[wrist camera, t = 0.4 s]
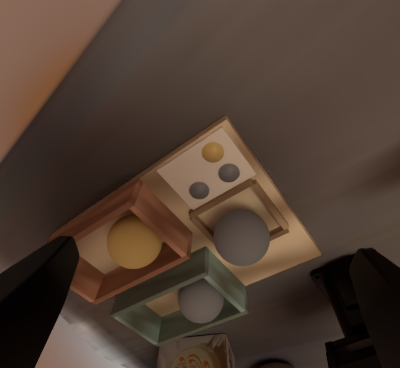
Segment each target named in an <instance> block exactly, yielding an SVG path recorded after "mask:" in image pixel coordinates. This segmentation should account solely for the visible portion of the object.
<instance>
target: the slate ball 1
mask: <svg viewBox="0 0 400 368" xmlns="http://www.w3.org/2000/svg"><path fill="white" fill-rule="evenodd" d="M223 303H224V296H223V295H222V294H221V293H220V292H219V291H217V290H216V289H215V288H214V287H213V286H212V285H211V284H210V283H209V282H208V281H207V280H206V279H205V278H202V279H200V280H197V281H195V282H193V283H191V284H188V285H186V286H184V287H182V288H179V292H178V305H179V308H180V311H181V312H182V314H183V315H184V316H185V317H186V318H187V319H188V320H190V321H192V322H194V323H207V322H210V321H212V320H213V319H215V318H216V317H217V316H218V315H219V313H220V312H221V310H222V307H223Z"/></svg>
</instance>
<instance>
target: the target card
mask: <svg viewBox="0 0 400 368" xmlns="http://www.w3.org/2000/svg"><path fill="white" fill-rule="evenodd" d="M157 172H158V173H159V174H160V175H161V176H162V177H163V178H164V180H165V181H166V182H167V183H168V184H169V185H170V186H171V187H172V188H173V189H174V190H175V191H176V192H177V193H178V194H179V196H180V197H181V198H182V199H183V200H184V201H185V202H186V203H187V204H188V205H189V206H190V207H191V208H192V209H193V210H194V209H196V208H198V207H200V206H201V205H203V204H205V203H207V202H208V201H210V200H212V199H214V198H215V197H217V196H219V195H221V194H223V193H224V192H226V191H228V190H230V189H231V188H233V187H235V186H237V185H238V184H240V183H242V182H244V181H246V180H247V179H249V178H251V177H253V176H254V175H256V172H255V171H254V169H253V168H252V167H251V165H250V164H249V162H248V161H247V160H246V158H245V157H244V155H243V154H242V153H241V151H240V150H239V149H238V147H237V146H236V144H235V143H234V142H233V140H232V139H231V138H230V136H229V135H228V133H227V132H226V131H225V129H224V128H223V126H221V127H219V128H218V129H216V130H215V131H213V132H212V133H210V134H209V135H207V136H206V137H204V138H203V139H201V140H200V141H198V142H197V143H195V144H194V145H192V146H191V147H189V148H188V149H186V150H185V151H183V152H182V153H180V154H179V155H177V156H176V157H174V158H173V159H171V160H170V161H168V162H167V163H165V164H164V165H162V166H161V167H159V168H158V169H157Z"/></svg>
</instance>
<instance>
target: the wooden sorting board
mask: <svg viewBox="0 0 400 368" xmlns="http://www.w3.org/2000/svg"><path fill="white" fill-rule="evenodd" d="M221 126H223V128H224V129H225V131H226V132H227V133H228V135H229V136H230V138H231V139H232V140H233V142H234V143H235V144H236V146H237V147H238V149H239V150H240V151H241V153H242V154H243V155H244V157H245V158H246V160H247V161H248V162H249V164H250V165H251V167H252V168H253V169H254V171H255V172H256V175H254V176H253V177H251V178H249V179H247V180H246V181H244V182H242V183H240V184H238V185H237V186H235V187H233V188H231V189H230V190H228V191H226V192H224V193H223V194H221V195H219V196H217V197H215V198H214V199H212V200H210V201H208V202H207V203H205V204H203V205H201V206H200V207H198V208H196V209H194V210H193V209H192V208H191V207H190V206H189V205H188V204H187V203H186V202H185V201H184V200H183V199H182V198H181V197H180V196H179V194H178V193H177V192H176V191H175V190H174V189H173V188H172V187H171V186H170V185H169V184H168V183H167V182H166V181H165V180H164V178H163V177H162V176H161V175H160V174H159V173H158V172H157V169H158V168H159V167H161V166H162V165H164V164H165V163H167V162H168V161H170V160H171V159H173V158H174V157H176V156H177V155H179V154H180V153H182V152H183V151H185V150H186V149H188V148H189V147H191V146H192V145H194V144H195V143H197V142H198V141H200V140H201V139H203V138H204V137H206V136H207V135H209V134H210V133H212V132H213V131H215V130H216V129H218V128H219V127H221ZM237 209H245V210H249V211H252V212H254V213H256V214H257V215H259V216H260V217H261V218H262V219H263V220H264V222H265V223H266V225H267V227H268V229H269V233H270V244H269V248H268V250H267V252H266V254H265V255H264V256H263V258H262V259H260V260H259V261H258V262H256V263H254V264H252V265H249V266H236V265H233V264H231V263H229V262H227V261H225V260H224V259H223V258H222V257H221V256H220V255H219V253H218V252H217V250H216V248H215V245H214V238H213V235H214V229H215V226H216V224H217V222H218V221H219V219H220V218H221V217H222V216H223V215H225V214H226V213H228V212H230V211H233V210H237ZM129 214H135V215H136V216H137V217H139V218H140V219H141V220H142V221H143V222H144V223H145V224H146V225H147V226H148V227H149V228H150V229H151V230H153V231H154V232H155V233H156V234H157V235H158V236H159V237H160V238H161V239H162V247H161V250H160V252H159V254H158V256H157V257H156V259H155V260H154V261H153V262H151V263H150V264H149V265H147V266H145V267H142V268H139V269H128V268H124V267H122V266H120V265H118V264H117V263H116V262H115V261H114V260H113V259H112V258H111V256H110V254H109V252H108V249H107V236H108V233H109V231H110V229H111V227H112V226H113V224H114V223H115V222H116V221H117V220H119V219H120V218H122V217H124V216H126V215H129ZM62 235H63V236H73V237H74V239H75V242H76V245H77V248H78V251H79V256H80V257H79V262H78V265H77V268H76V271H75V274H74V277H73V280H72V283H71V286H70V289H71V290H73V291H74V292H76V293H77V294H79V295H80V296H82V297H83V298H85V299H86V300H88V301H89V302H91V303H92V304H94V305H96V304H98V303H100V302H102V301H104V300H106V299H109V298H111V297H113V296H115V295H117V296H116V299H115V302H114V305H113V308H112V311H111V314H110V316H112V317H113V318H115V319H116V320H118V321H119V322H121V323H122V324H124V325H125V326H127V327H128V328H130V329H131V330H133V331H134V332H136V333H137V334H139V335H140V336H142V337H143V338H145V339H146V340H148V341H149V342H151V343H152V344H154V345H155V346H157V347H158V346H161V345H163V344H166V343H169V342H172V341H174V340H177V339H180V338H183V337H185V336H188V335H191V334H193V333H196V332H199V331H202V330H204V329H207V328H210V327H213V326H215V325H218V324H221V323H224V322H226V321H229V320H232V319H234V318H237V317H240V316H243V315H245V314H248V304H247V296H246V287H245V286H247V285H249V284H252V283H254V282H257V281H259V280H262V279H264V278H266V277H269V276H271V275H274V274H276V273H279V272H281V271H284V270H286V269H288V268H291V267H293V266H296V265H298V264H301V263H303V262H306V261H308V260H311V259H313V258H315V257H318V256H320V255H322V254H321V251H320V249H319V247H318V245H317V244H316V243H315V241H314V240H313V238H312V237H311V235H310V234H309V233H308V231H307V230H306V228H305V227H304V225H303V224H302V223H301V221H300V220H299V218H298V217H297V215H296V214H295V213H294V211H293V210H292V208H291V207H290V205H289V204H288V203H287V201H286V200H285V198H284V197H283V195H282V194H281V193H280V191H279V190H278V188H277V187H276V185H275V184H274V183H273V181H272V180H271V178H270V177H269V175H268V174H267V173H266V171H265V170H264V168H263V167H262V165H261V164H260V163H259V161H258V160H257V158H256V157H255V155H254V154H253V153H252V151H251V150H250V148H249V147H248V145H247V144H246V143H245V141H244V140H243V138H242V137H241V135H240V134H239V133H238V131H237V130H236V128H235V127H234V125H233V124H232V123H231V121H230V120H229V118H228V117H227V115H224V116H223V117H221V118H220V119H219V120H217V121H216V122H214V123H213V124H211V125H210V126H208V127H207V128H205V129H204V130H202V131H201V132H199V133H198V134H197V135H195V136H194V137H192V138H191V139H189V140H188V141H186V142H185V143H183V144H182V145H180V146H179V147H177V148H176V149H175V150H173V151H172V152H170V153H169V154H167V155H166V156H164V157H163V158H161V159H160V160H158V161H157V162H155V163H154V164H153V165H151V166H150V167H148V168H147V169H145V170H144V171H142V172H141V173H139V174H138V175H136V176H135V177H134V178H132V179H131V180H129V181H128V182H126V183H125V184H123V185H122V186H120V187H119V188H117V189H116V190H114V191H113V192H112V193H110V194H109V195H107V196H106V197H104V198H103V199H101V200H100V201H98V202H97V203H95V204H94V205H92V206H91V207H90V208H88V209H87V210H85V211H84V212H82V213H81V214H79V215H78V216H76V217H75V218H73V219H72V220H71V221H69V222H68V223H66V224H65V225H63V226H62V227H60V228H59V229H57V230H56V231H54V232H53V234H52V235H51V236H50V238H49V239H48V242H47V243H49V242H50V241H52V240H53V239H55V238H56V237H58V236H62ZM47 243H46V244H47ZM202 278H205V279H206V280H207V281H208V282H209V283H210V284H211V285H212V286H213V287H214V288H215V289H216V290H217V291H219V292H220V293H221V294H222V295H223V296H224V303H223V307H222V310H221V312H220V313H219V315H218V316H217V317H216V318H215V319H213V320H212V321H210V322H207V323H194V322H192V321H190V320H188V319H187V318H186V317H185V316H184V315H183V314H182V312H181V311H180V308H179V305H178V292H179V288H182V287H184V286H186V285H188V284H191V283H193V282H195V281H197V280H200V279H202Z"/></svg>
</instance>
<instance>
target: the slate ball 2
mask: <svg viewBox="0 0 400 368" xmlns="http://www.w3.org/2000/svg"><path fill="white" fill-rule="evenodd" d="M213 238H214V245H215V248H216V250H217V252H218V253H219V255H220V256H221V257H222V258H223V259H224V260H225V261H227V262H229V263H231V264H233V265H236V266H249V265H252V264H254V263H256V262H258V261H259V260H260V259H262V258H263V256H264V255H265V254H266V252H267V250H268V248H269V244H270V233H269V229H268V227H267V225H266V223H265V222H264V220H263V219H262V218H261V217H260V216H259V215H257V214H256V213H254V212H252V211H249V210H245V209H237V210H233V211H230V212H228V213H226V214H225V215H223V216H222V217H221V218H220V219H219V221H218V222H217V224H216V226H215V229H214V235H213Z"/></svg>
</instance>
